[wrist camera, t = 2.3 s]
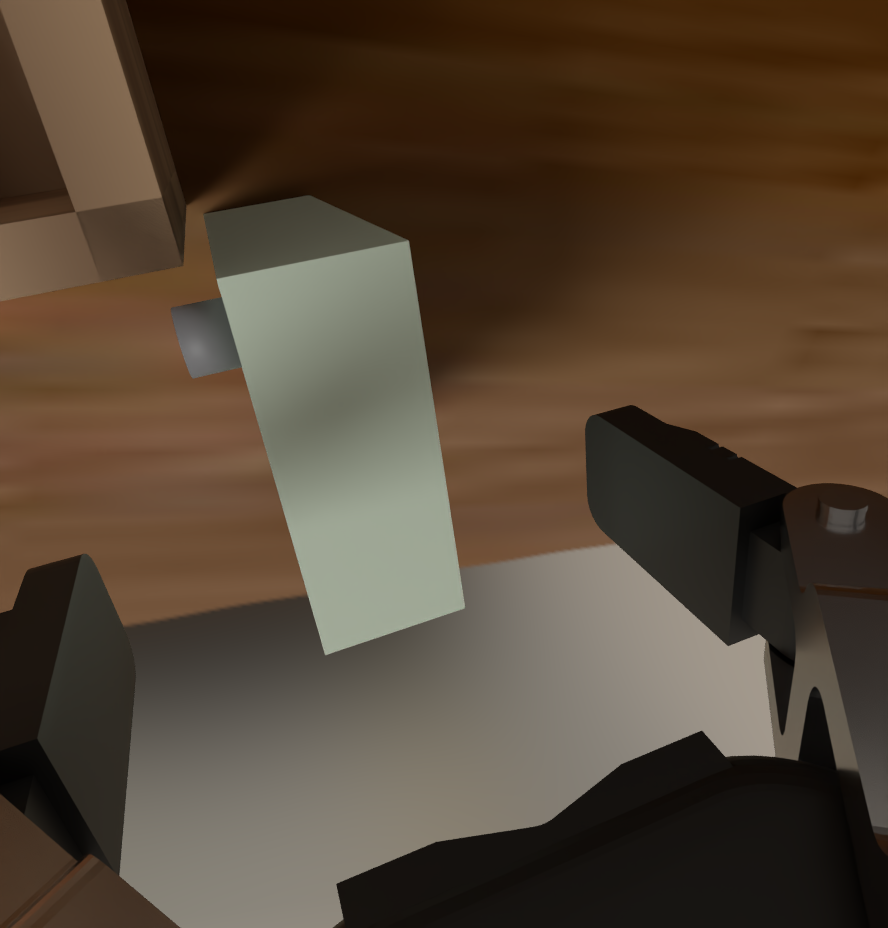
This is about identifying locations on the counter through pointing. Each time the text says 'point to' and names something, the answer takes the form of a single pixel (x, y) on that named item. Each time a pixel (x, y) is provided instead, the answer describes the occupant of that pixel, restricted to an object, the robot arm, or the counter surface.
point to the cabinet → (80, 151)
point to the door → (336, 406)
